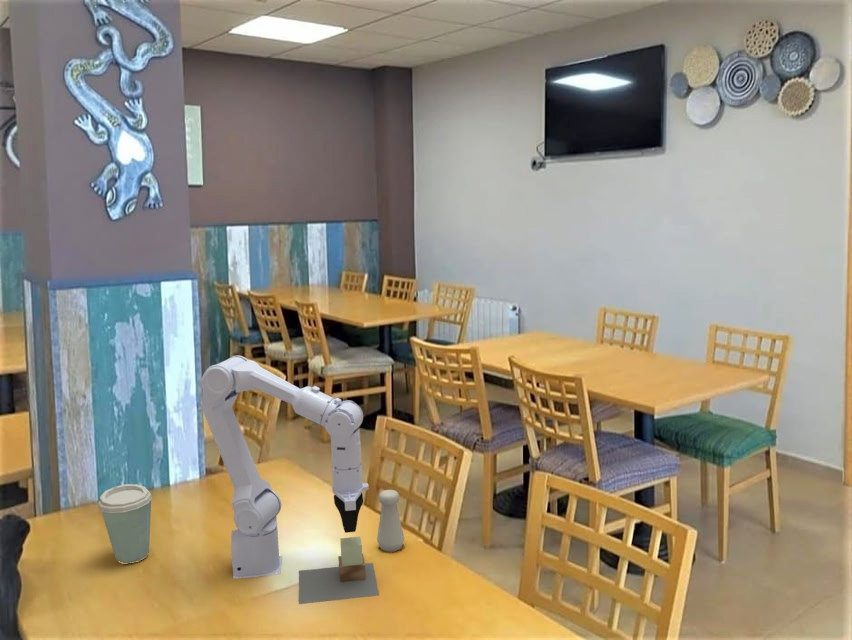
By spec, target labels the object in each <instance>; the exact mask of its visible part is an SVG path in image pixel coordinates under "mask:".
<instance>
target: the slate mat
mask: <svg viewBox="0 0 852 640" xmlns="http://www.w3.org/2000/svg"><path fill="white" fill-rule="evenodd" d="M365 574H366V580H357V581H347V582H340V575H339V566H333V567H332V566H331V567H322V568H315V569H314V568H311V569H303V570H298V604H299V605H303V604H312V603H321V602H322V603H323V602H330V601H338V600H339V601H340V600H349V599H358V598H369V597H375V596H379V595H380V593H379V588H378V583H377V577H376V572H375V567H374V563H373V562H370V563H365Z"/></svg>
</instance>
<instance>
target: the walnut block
mask: <svg viewBox="0 0 852 640" xmlns="http://www.w3.org/2000/svg"><path fill="white" fill-rule="evenodd" d="M364 557H365V556H364V553H362V559H363V564H361V565H352V566H342V559H341V555H338V557H337V559H338V567H339V575H340V582H347V581H357V580H366V574H365V564H366V563H365V558H364Z"/></svg>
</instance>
